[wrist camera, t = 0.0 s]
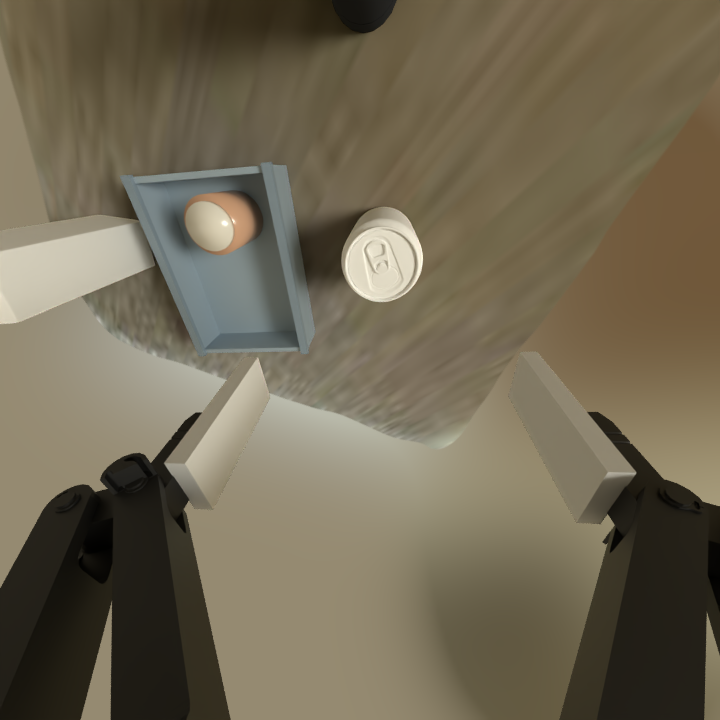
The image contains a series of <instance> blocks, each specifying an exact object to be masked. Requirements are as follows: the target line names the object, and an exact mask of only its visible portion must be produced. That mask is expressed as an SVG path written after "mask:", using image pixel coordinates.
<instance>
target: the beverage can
mask: <svg viewBox="0 0 720 720" xmlns="http://www.w3.org/2000/svg"><path fill="white" fill-rule="evenodd" d="M341 263H342V270H343V274H344V277H345V279H346V281H347V283H348V284H349V286H350V287H351V288H352V289H353V290H354V291H355V292H356V293H357V294H359V295H360V296H362V297H364V298H365V299H368V300H371V301H375V302H387V301H391V300H394V299H397V298H399V297H401V296H402V295H404V294H405V293H407V292H408V291H409V290H410V289H411V288H412V287H413V286H414V284H415V283H416V281H417V280H418V278H419V275H420V273H421V269H422V264H423V254H422V248H421V245H420V243H419V240H418V238H417V236H416V234H415V231H414V229H413V227H412V225H411V223H410V221H409V220H408V218H407V217H406V216H405V215H404V214H403V213H401V212H400V211H398V210H396V209H394V208H390V207H377V208H374V209H371V210H369V211H368V212H366V213H365V214H363V215H362V216H361V217H360V218H359V220H358V221H357V223H356V224H355V226H354V228H353V230H352V231H351V233H350V235H349V237H348V239H347V240H346V242H345V245H344V247H343V251H342V258H341Z"/></svg>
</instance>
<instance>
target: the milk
mask: <svg viewBox="0 0 720 720" xmlns="http://www.w3.org/2000/svg"><path fill="white" fill-rule="evenodd" d="M153 266H155V262H154V258H153V254H152V251H151V247H150V244H149V242H148V239H147V237H146V235H145V232H144V230H143V228H142V226H141V223H140V221H139V220H134V219H127V218H120V217H113V216H107V215H93V216H87V217H81V218H74V219H68V220H62V221H55V222H49V223H43V224H36V225H30V226H24V227H18V228H11V229H5V230H0V324H8V323H18V322H21V321H23V320H26V319H28V318H30V317H33V316H35V315H38V314H40V313H42V312H45V311H47V310H49V309H52V308H54V307H57V306H59V305H62V304H64V303H67V302H69V301H71V300H74V299H76V298H79V297H81V296H83V295H86V294H88V293H91V292H93V291H95V290H98V289H100V288H103V287H105V286H107V285H110V284H112V283H115V282H117V281H119V280H122V279H124V278H127V277H129V276H131V275H134V274H136V273H139V272H141V271H143V270H146V269H148V268H151V267H153Z"/></svg>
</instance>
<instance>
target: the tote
mask: <svg viewBox="0 0 720 720" xmlns="http://www.w3.org/2000/svg"><path fill="white" fill-rule="evenodd" d="M120 178H121V180H122V182H123V185H124V187H125V189H126V191H127V194H128V196H129V198H130V201H131V203H132V205H133V207H134V210H135V212H136V214H137V216H138V219H139V221H140V223H141V226H142V228H143V230H144V232H145V235H146V237H147V239H148V242H149V244H150V246H151V248H152V251H153V253H154V255H155V257H156V260H157V262H158V264H159V267H160V269H161V271H162V273H163V276H164V278H165V280H166V283H167V285H168V287H169V289H170V292H171V294H172V296H173V298H174V301H175V303H176V305H177V308H178V310H179V312H180V314H181V317H182V319H183V321H184V324H185V326H186V328H187V330H188V333H189V335H190V337H191V339H192V342H193V344H194V346H195V349H196V351H197V353H198V355H199V356H206V355H207V353H232V352H278V351H301V354H308V353H309V349H308V348H309V346H310V343H311V341H312V339H313V336H314V334H315V328H314V322H313V316H312V311H311V305H310V299H309V293H308V288H307V282H306V276H305V270H304V265H303V259H302V253H301V247H300V241H299V236H298V230H297V224H296V218H295V213H294V207H293V201H292V195H291V190H290V184H289V178H288V172H287V166H286V165H273V164H272V162H266V163H261V166H252V167H241V168H229V169H218V170H207V171H196V172H185V173H174V174H163V175H151V176H140V177H133V175H123V176H120ZM229 190H239V191H242V192H244V193H246V194H248V195H249V196H251V197H252V198H253V199H254V200H255V202H256V203H257V204H258V206H259V208H260V210H261V212H262V216H263V228H262V231H261V233H260V235H259V236H258V237H257V238H256V239H255V240H253V241H251V242H249V243H248V244H246V245H244V246H242V247H240V248H238V249H236V250H234V251H233V252H231V253H229V254H226V255H214V254H211V253H208V252H206V251H205V250H203V249H202V248H200V247H199V246H198V245H197V244H196V243H195V242H194V241H193V240H192V238H191V237H190V235H189V233H188V231H187V229H186V226H185V222H184V211H185V207H186V205H187V203H188V201H189V200H190V199H191V198H193V197H194V196H197V195H200V194H207V193H215V192H222V191H229Z"/></svg>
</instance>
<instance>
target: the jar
mask: <svg viewBox="0 0 720 720" xmlns="http://www.w3.org/2000/svg"><path fill="white" fill-rule="evenodd" d="M184 222H185V226H186V229H187V231H188V233H189V235H190V237H191V238H192V240H193V241H194V242H195V243H196V244H197V245H198V246H199V247H200V248H202V249H203V250H205V251H206V252H208V253H211V254H214V255H226V254H229V253H231V252H233V251H234V250H236V249H238V248H240V247H242V246H244V245H246V244H248V243H249V242H251V241H253V240H255V239H256V238H257V237H258V236H259V235H260V233H261V231H262V228H263V216H262V212H261V210H260V208H259V206H258V204H257V203H256V202H255V200H254V199H253V198H252V197H251V196H249V195H248V194H246V193H244V192H242V191H239V190H229V191H222V192H215V193H207V194H200V195H197V196H194V197H193V198H191V199H190V200H189V201H188V203H187V205H186V207H185V211H184Z"/></svg>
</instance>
